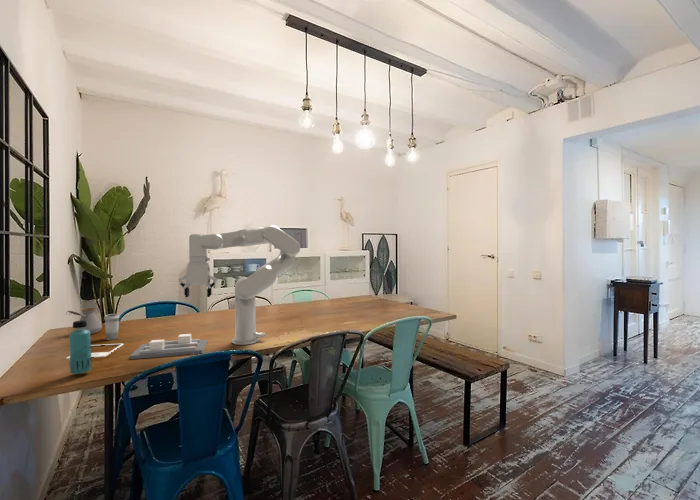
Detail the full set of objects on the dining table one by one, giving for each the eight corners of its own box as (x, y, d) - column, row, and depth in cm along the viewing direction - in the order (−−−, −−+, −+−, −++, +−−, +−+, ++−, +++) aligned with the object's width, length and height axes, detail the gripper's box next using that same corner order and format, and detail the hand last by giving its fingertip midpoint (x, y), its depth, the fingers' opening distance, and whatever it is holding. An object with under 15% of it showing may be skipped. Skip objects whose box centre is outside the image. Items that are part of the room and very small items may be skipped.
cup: (120, 339, 175) (119, 315, 175) (103, 341, 172) (103, 317, 171) (119, 336, 181) (119, 313, 181) (104, 338, 177) (103, 314, 177)
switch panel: (207, 342, 170) (207, 337, 170) (202, 353, 154) (202, 347, 153) (142, 347, 162) (142, 341, 162) (130, 359, 146) (130, 353, 146)
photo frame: (66, 357, 146) (89, 344, 164) (66, 360, 146) (89, 347, 164) (105, 355, 149) (123, 343, 167) (105, 357, 149) (123, 345, 167)
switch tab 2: (191, 342, 165) (191, 333, 165) (190, 344, 161) (189, 335, 161) (179, 342, 164) (179, 334, 164) (178, 345, 160) (178, 336, 160)
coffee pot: (85, 330, 192) (84, 303, 192) (107, 330, 193) (106, 303, 193) (55, 341, 171) (55, 311, 171) (80, 341, 172) (79, 310, 172)
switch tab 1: (164, 348, 156) (164, 339, 156) (162, 350, 152) (162, 341, 152) (152, 349, 154) (151, 340, 154) (149, 351, 151) (149, 342, 150)
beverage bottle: (74, 379, 125) (73, 323, 124) (66, 375, 128) (65, 321, 128) (95, 373, 130) (94, 320, 130) (87, 370, 134) (86, 318, 133)
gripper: (219, 259, 168) (219, 295, 169) (181, 259, 166) (181, 295, 167) (215, 260, 161) (215, 297, 161) (175, 260, 159) (175, 298, 159)
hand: (198, 296), depth 164 cm, fingers open, 9 cm apart
